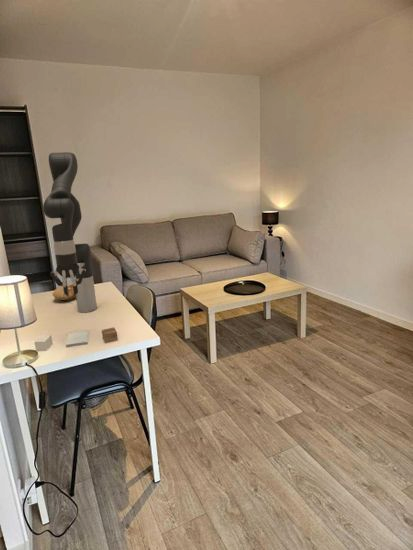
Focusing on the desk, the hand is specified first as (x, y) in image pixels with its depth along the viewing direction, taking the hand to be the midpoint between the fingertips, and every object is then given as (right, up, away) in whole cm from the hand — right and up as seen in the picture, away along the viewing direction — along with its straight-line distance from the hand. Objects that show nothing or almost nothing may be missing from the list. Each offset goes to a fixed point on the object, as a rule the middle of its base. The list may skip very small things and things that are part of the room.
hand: (71, 294), depth 143 cm
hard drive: (+1, -19, +5) cm, 20 cm away
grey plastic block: (-10, -21, -1) cm, 23 cm away
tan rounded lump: (-20, -5, +58) cm, 62 cm away
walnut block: (+14, -18, +4) cm, 24 cm away
